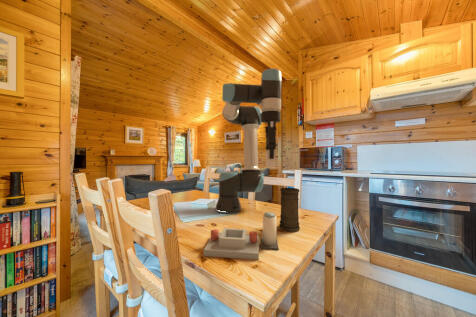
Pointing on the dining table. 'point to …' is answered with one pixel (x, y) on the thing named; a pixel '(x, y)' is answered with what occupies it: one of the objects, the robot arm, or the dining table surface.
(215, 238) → the plunger
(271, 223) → the cylinder
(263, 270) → the dining table surface
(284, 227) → the container
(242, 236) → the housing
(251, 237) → the plunger
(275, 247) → the mat
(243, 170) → the robot arm
